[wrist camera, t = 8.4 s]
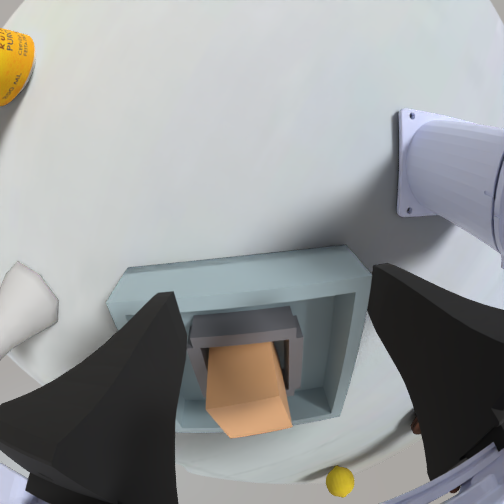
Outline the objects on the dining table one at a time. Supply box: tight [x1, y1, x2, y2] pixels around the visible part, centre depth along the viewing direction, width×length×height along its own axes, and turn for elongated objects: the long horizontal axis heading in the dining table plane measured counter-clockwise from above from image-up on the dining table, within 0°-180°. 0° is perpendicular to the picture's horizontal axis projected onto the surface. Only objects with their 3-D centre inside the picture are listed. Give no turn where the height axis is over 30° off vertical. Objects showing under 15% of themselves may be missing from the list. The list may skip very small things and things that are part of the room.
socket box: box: [106, 245, 372, 433], centre depth 20 cm, size 16×16×4 cm
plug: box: [206, 341, 293, 438], centre depth 18 cm, size 4×4×7 cm
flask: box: [0, 261, 58, 360], centre depth 15 cm, size 7×7×10 cm
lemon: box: [326, 466, 354, 497], centre depth 37 cm, size 6×6×8 cm
